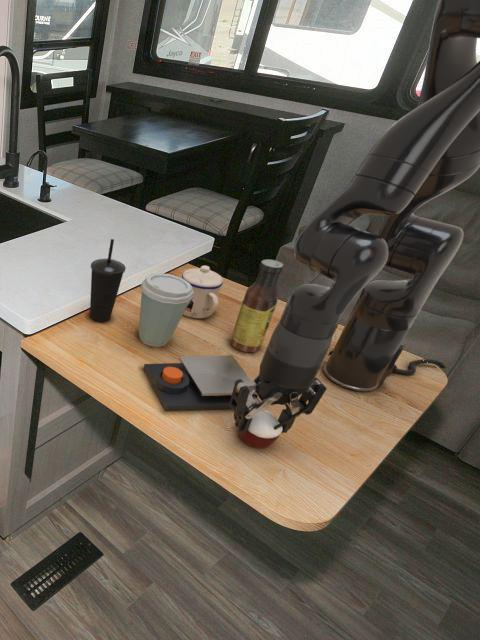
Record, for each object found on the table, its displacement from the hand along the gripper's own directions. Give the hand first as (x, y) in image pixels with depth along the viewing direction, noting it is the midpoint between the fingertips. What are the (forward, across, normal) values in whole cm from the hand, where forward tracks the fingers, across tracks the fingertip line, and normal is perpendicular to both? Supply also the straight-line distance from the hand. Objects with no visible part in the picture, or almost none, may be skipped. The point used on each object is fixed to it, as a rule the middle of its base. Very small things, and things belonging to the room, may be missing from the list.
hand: (260, 429), depth 89 cm
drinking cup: (+3, -17, +42) cm, 45 cm away
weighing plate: (0, -1, +15) cm, 15 cm away
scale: (+3, -4, +15) cm, 16 cm away
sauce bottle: (+3, +12, +29) cm, 32 cm away
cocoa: (+3, 0, 0) cm, 3 cm away
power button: (0, -10, +15) cm, 18 cm away
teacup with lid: (+3, +7, +43) cm, 44 cm away
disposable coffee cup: (+3, -7, +32) cm, 33 cm away
